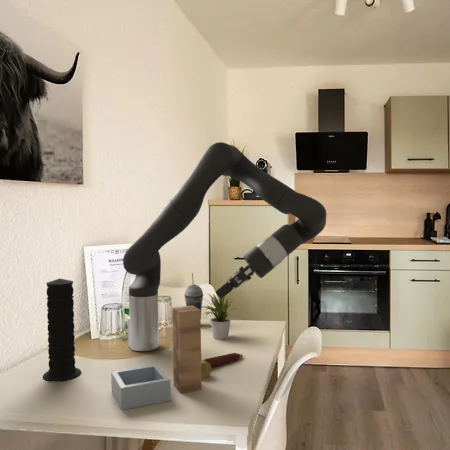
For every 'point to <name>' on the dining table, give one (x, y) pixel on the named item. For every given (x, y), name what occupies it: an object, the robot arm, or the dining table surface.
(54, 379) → the handle grip
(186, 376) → the walnut handle block
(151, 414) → the dining table surface
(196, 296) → the beverage cup
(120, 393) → the box
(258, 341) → the dining table surface
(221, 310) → the house plant
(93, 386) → the dining table surface
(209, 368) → the gavel
